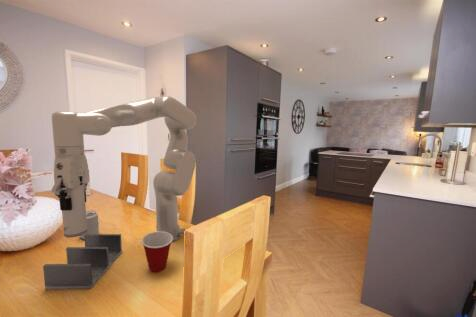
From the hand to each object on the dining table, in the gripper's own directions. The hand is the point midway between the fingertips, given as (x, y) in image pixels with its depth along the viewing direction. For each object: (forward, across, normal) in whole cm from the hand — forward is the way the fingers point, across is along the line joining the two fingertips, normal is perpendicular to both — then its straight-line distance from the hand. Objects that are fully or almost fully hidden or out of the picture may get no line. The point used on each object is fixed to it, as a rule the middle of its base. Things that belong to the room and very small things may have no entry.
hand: (74, 205), depth 73 cm
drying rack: (+26, +5, 0) cm, 26 cm away
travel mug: (+10, 0, 0) cm, 10 cm away
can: (+26, +29, +14) cm, 41 cm away
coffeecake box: (+26, +87, +57) cm, 108 cm away
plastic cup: (+26, +5, -25) cm, 36 cm away
